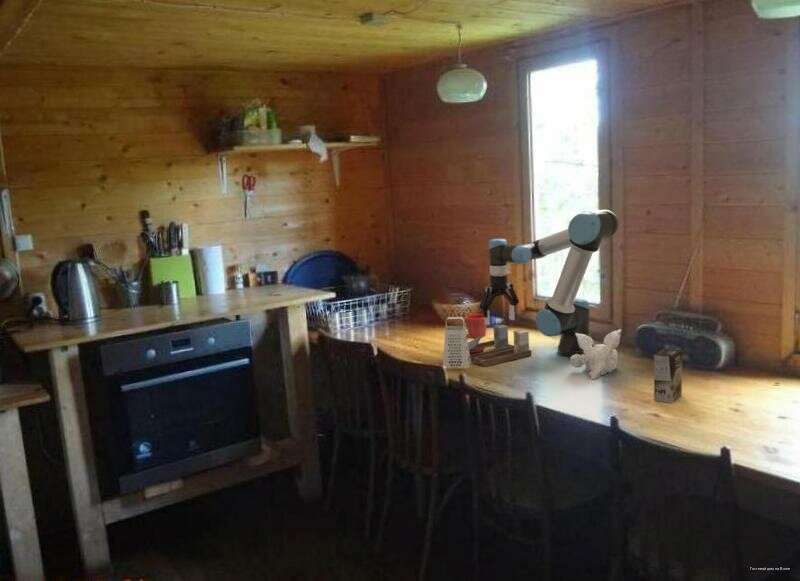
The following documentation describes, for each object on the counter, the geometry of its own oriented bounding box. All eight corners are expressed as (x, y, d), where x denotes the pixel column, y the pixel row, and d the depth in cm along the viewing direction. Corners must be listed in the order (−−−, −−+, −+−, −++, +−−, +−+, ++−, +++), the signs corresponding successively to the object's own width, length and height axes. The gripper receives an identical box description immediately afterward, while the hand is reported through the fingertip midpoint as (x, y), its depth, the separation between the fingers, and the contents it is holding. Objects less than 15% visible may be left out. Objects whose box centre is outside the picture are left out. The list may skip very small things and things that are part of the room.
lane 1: (515, 350, 315) (514, 327, 314) (469, 360, 303) (468, 337, 302) (495, 344, 328) (494, 322, 326) (450, 354, 316) (448, 331, 314)
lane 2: (531, 355, 306) (530, 332, 304) (484, 366, 294) (483, 342, 292) (519, 351, 313) (518, 328, 311) (473, 362, 301) (472, 338, 299)
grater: (468, 368, 294) (466, 320, 290) (442, 368, 296) (440, 320, 293) (471, 361, 304) (468, 314, 300) (446, 361, 306) (443, 315, 303)
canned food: (478, 368, 309) (474, 351, 303) (458, 363, 315) (454, 346, 309) (491, 351, 316) (487, 334, 310) (471, 346, 322) (467, 329, 316)
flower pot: (461, 335, 349) (460, 315, 347) (481, 332, 353) (480, 312, 352) (472, 339, 339) (472, 319, 338) (492, 336, 344) (492, 316, 342)
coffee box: (672, 403, 239) (673, 356, 236) (653, 400, 243) (653, 354, 240) (682, 396, 246) (682, 350, 243) (663, 393, 250) (663, 348, 247)
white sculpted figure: (625, 340, 286) (620, 324, 269) (626, 390, 279) (621, 376, 262) (576, 341, 293) (568, 325, 276) (576, 389, 286) (568, 376, 269)
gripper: (515, 270, 324) (516, 316, 328) (470, 277, 312) (471, 325, 316) (526, 271, 318) (527, 319, 322) (480, 279, 306) (481, 328, 310)
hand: (499, 322), depth 319 cm, fingers open, 13 cm apart
